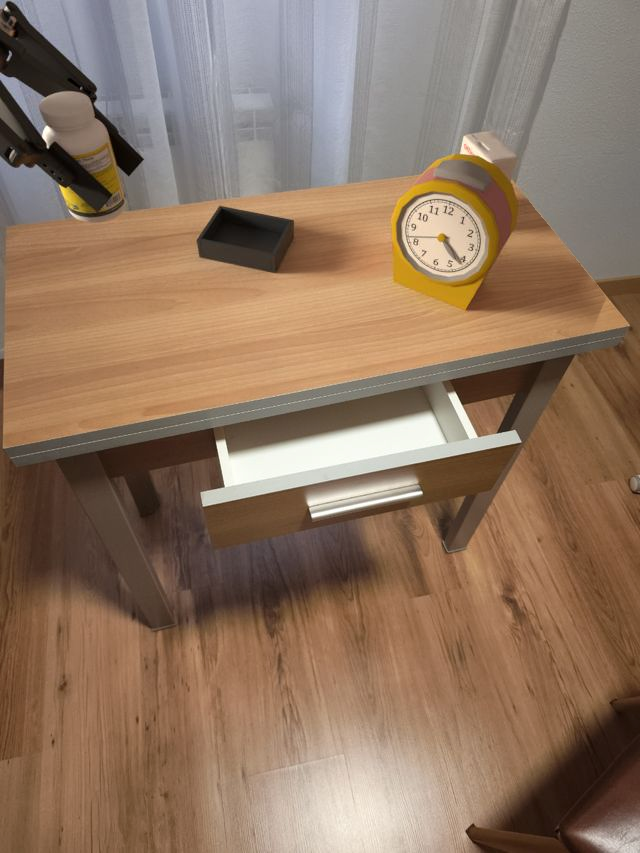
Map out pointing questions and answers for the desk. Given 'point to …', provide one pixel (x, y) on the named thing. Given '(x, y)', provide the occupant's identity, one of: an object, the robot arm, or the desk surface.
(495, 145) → the ink box
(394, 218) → the alarm clock
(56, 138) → the pill bottle
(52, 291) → the desk surface
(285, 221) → the bin
